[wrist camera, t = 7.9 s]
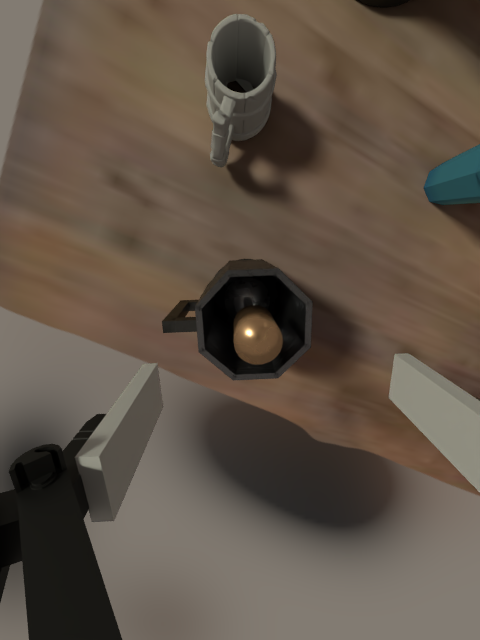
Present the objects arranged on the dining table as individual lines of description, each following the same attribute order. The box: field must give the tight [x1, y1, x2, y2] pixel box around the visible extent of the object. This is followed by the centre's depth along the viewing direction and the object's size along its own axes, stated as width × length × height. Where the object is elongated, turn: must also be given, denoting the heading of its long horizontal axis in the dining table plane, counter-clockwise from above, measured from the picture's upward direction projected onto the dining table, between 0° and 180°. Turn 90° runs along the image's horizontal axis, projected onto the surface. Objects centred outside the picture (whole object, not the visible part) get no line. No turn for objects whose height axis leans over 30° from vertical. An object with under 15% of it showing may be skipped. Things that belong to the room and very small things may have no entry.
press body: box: [162, 259, 312, 380], centre depth 33 cm, size 15×11×15 cm
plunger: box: [225, 277, 283, 365], centre depth 30 cm, size 6×6×17 cm
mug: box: [205, 14, 276, 167], centre depth 29 cm, size 8×12×12 cm, turn 160°
